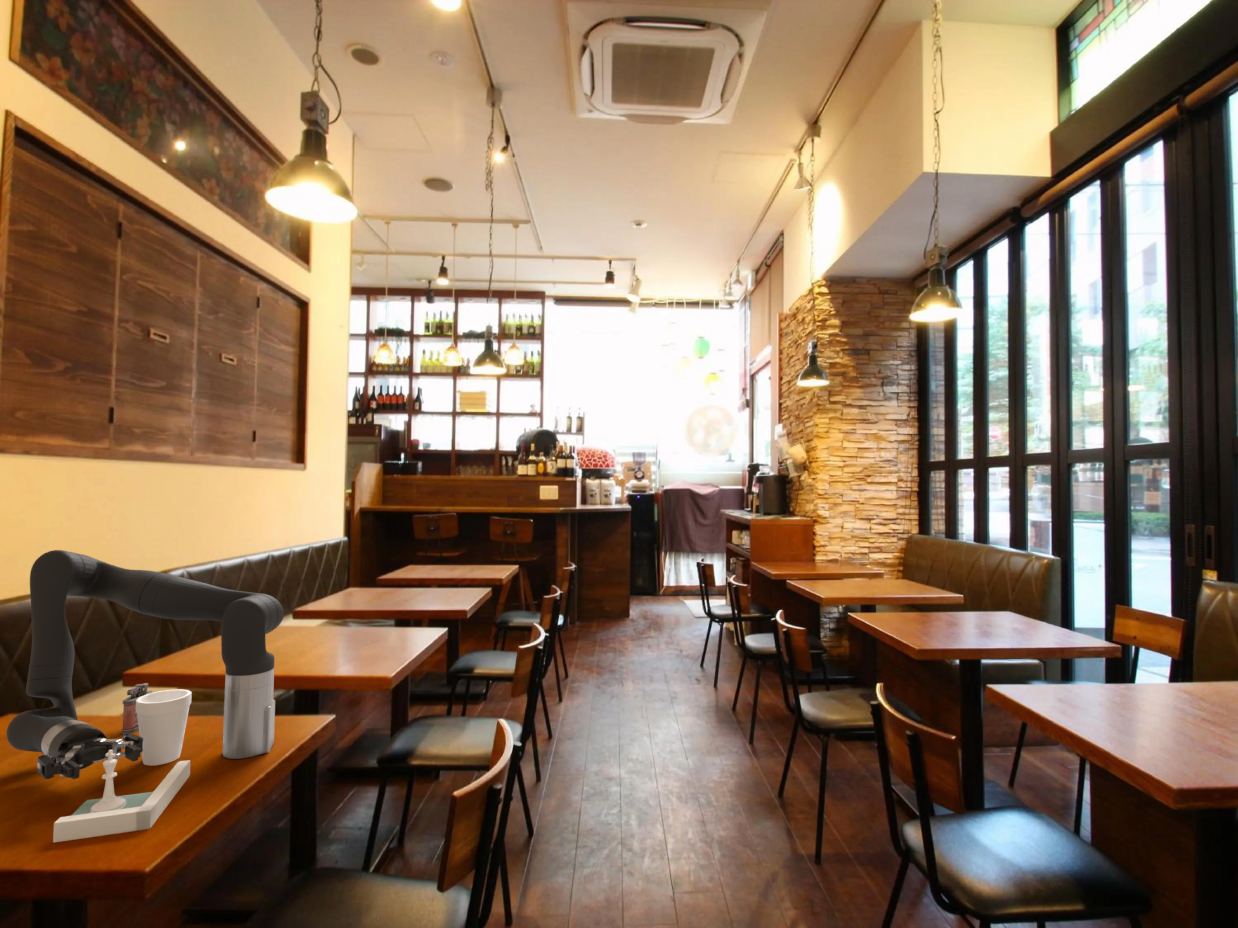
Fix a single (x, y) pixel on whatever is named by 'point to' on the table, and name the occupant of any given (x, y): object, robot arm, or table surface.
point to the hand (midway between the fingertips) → (107, 763)
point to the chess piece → (109, 788)
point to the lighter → (132, 708)
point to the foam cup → (162, 724)
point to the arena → (123, 811)
